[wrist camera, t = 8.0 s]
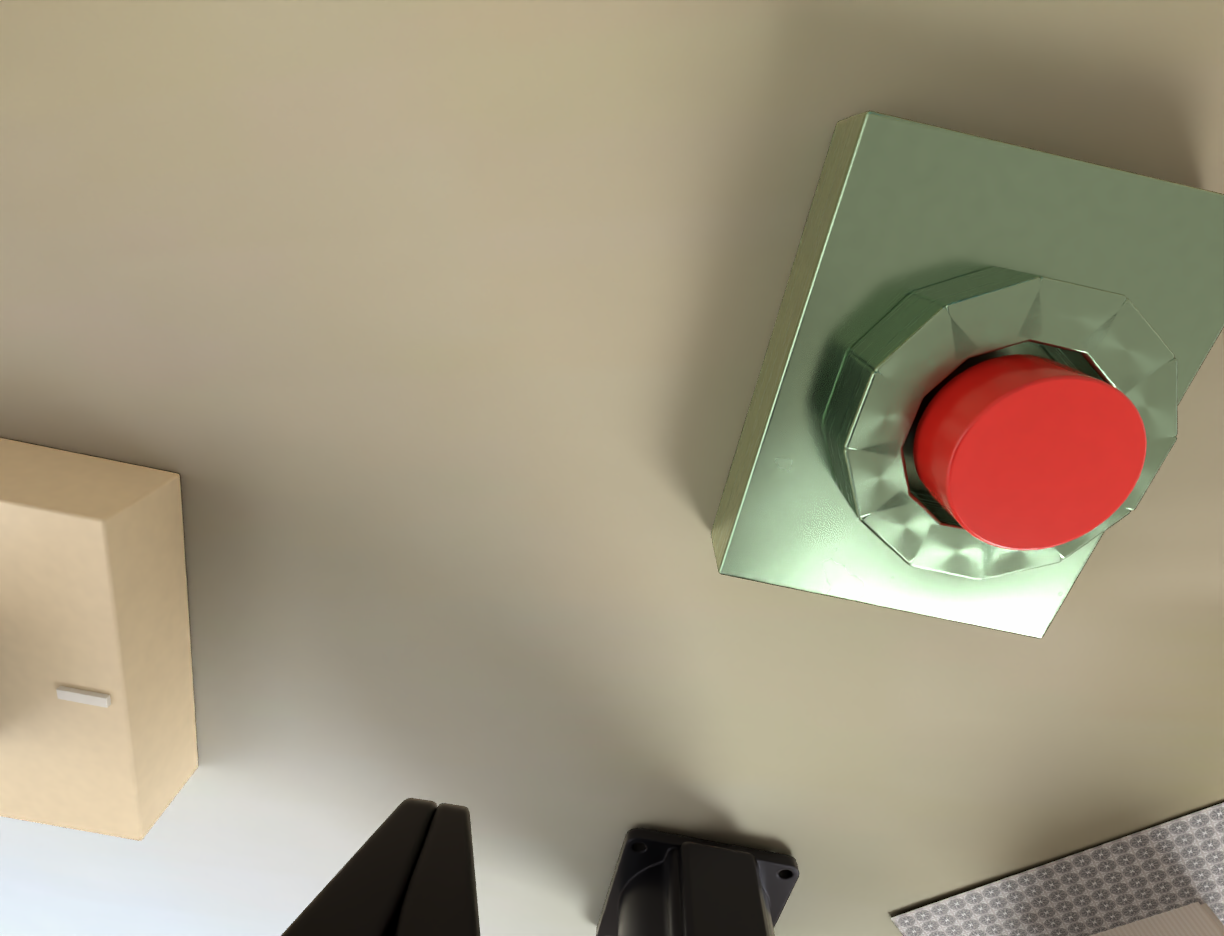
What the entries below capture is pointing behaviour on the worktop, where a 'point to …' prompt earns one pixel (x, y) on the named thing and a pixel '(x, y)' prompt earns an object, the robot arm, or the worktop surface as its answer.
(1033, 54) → the worktop surface
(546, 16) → the worktop surface
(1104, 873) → the napkin holder
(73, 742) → the panel
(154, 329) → the worktop surface
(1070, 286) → the box
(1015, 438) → the power button
